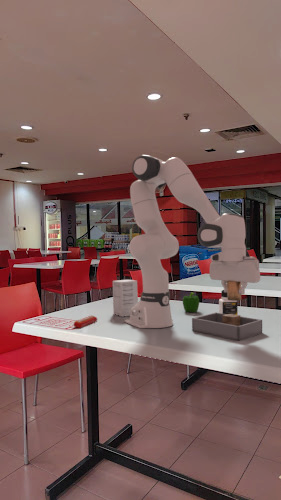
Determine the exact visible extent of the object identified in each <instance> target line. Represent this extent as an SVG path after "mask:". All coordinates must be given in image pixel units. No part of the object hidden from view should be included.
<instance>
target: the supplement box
mask: <svg viewBox="0 0 281 500" xmlns="http://www.w3.org/2000/svg"><path fill="white" fill-rule="evenodd" d="M138 296H139V293H138V280H134V279H121V280H120V279H119V280H112V305H113V309H112V310H113V313H112V314H113V315H115V314H116V315H115V316H118V315H119V317H121V316H122V317H123V318H124V316H125V317H130V310H131V308H132V307H133V306H135V305H136V304H137V303H138V302H139V297H138ZM122 317H121V318H122Z"/></svg>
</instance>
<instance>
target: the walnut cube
mask: <svg viewBox="0 0 281 500" xmlns="http://www.w3.org/2000/svg"><path fill="white" fill-rule="evenodd" d="M240 316H241V315H239V314H238V315H235V314H227V315H223V316H222V320H223V323H224V324H229V325H235V326H240V325H241V319H240Z"/></svg>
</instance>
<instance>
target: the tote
mask: <svg viewBox="0 0 281 500" xmlns="http://www.w3.org/2000/svg"><path fill="white" fill-rule="evenodd" d="M223 315H227V314H222V313H219V312H212V313H209V314H205V315H200V316H195V317H191V331H193V332H197V333H202V334H206V335H211V336H215V337H220V338H223V339H229V340H234V341H239V342H240V341H243V340H246V339H248V338H249V339H250V338H251V337H254V336H257V335H260V334H262V333H263V319H258V318H253V317H247V316H246V317H245V316H241V315H240V319H241V325H240V326H235V325H229V324H224V323H223V320H222V316H223Z"/></svg>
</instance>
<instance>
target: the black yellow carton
mask: <svg viewBox="0 0 281 500" xmlns="http://www.w3.org/2000/svg"><path fill="white" fill-rule="evenodd" d="M220 295H221V298H219V300H218V313H222V314H235V315H239V314H238V312H239V310H238V300H237V301H233V300H228V299H227V293H225V292H224V289H223V290H221V294H220Z"/></svg>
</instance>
